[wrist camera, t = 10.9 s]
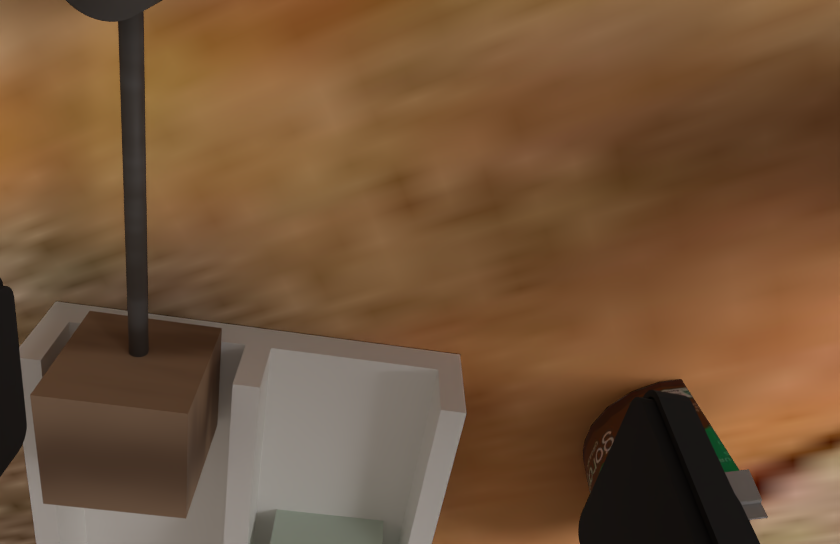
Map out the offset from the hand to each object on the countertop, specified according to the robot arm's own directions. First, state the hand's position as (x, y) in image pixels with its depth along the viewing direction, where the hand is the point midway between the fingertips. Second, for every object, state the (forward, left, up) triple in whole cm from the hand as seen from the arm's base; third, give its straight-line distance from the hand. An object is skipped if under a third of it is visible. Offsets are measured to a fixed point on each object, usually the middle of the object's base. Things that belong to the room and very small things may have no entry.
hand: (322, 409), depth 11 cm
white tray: (+25, -4, -21) cm, 33 cm away
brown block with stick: (+7, -8, -19) cm, 22 cm away
